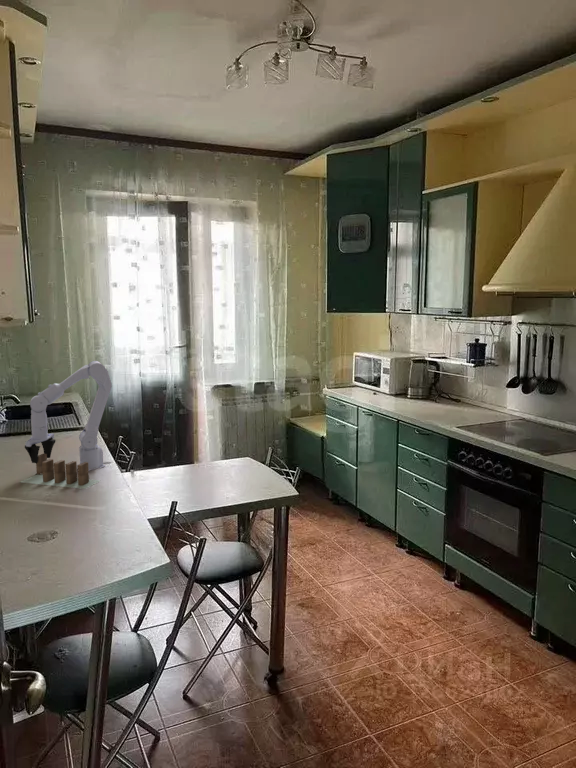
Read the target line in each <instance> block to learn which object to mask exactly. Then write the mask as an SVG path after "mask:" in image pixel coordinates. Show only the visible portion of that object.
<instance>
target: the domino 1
mask: <svg viewBox="0 0 576 768" xmlns="http://www.w3.org/2000/svg"><path fill="white" fill-rule="evenodd" d="M46 460H48V458H47V454H44V453H42V454H38V463H35V466H36V467H35V470H36V475H43V470H42V462H44V461H46Z"/></svg>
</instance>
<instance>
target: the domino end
mask: <svg viewBox="0 0 576 768" xmlns="http://www.w3.org/2000/svg"><path fill="white" fill-rule="evenodd" d="M89 471H90V470H89V469H88V462H83V463H81V464H80V463H79V464H77V478H78V485H81V486H82V485H84V484H86V483H88V482H89V479H90V475H89V474H90V473H89Z"/></svg>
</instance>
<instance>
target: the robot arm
mask: <svg viewBox="0 0 576 768" xmlns="http://www.w3.org/2000/svg"><path fill="white" fill-rule="evenodd" d="M90 377H91V378H93V379H94V380H95V383H97V386H98V387H97V390H96V393H95V396H94V400H93V404H92V405H91V410H90V413H89V415H88V418H87V422H86V424H85V426H84V428H83V430H82V431H81V432H80V434H79V436H78V439H79V441H80V445H79V447H78V451H79V453H78V455H79V464H81V463H83V462H88V469H89V471H92V470H97V469H98V468H100V469H102V468H104V467H106V464H104V451H103V449H102V447H101V446H100V445H98V434H99V427H100V424H101V421H102V418H103V416H104V412H105V409H106V407H107V406H106V405H107V402H108V399H109V395H110V392H111V389H112V387H113V385H112V384H113V383H112V382H111V381H112V380H111V378H110V375H109V371H108V369H107V368H106V366H105V365H104V364H102V363H101V362H100V361H98V360H93V361H90V362H89V363H88V364H84V365H83V366H82V367H80V368H79V369H77V370H76V371H74V372H73V373H72V374H70V375H69V376H68V377H66V379H64V380H62V381H61V382H60V383H56V382H54V383H53V384H51V383H50V384H48V385H47V386H48V387H47V388H45V389H44V390H42V391H39V392H38V393H37V395H35V396H33V397H32V398H31V399H30V402H29V405H30V406H29V407H30V409H31V410H30V414H31V415H30V421H31V423H30V424H31V425H30V426H31V436H30V437H29V439H28V440H26V441H24V442H25V445H24V449H25V451H27V454H28V455H29V458H30V460H31V463H32V464H36V463H38V455H39V451H40V449H41V446H42V449H43V450H42V451H43V454H47V459H51V455H52V451H53V447H54V446H55V443H56V439H55V433H48V415H47V412H46V411H47V407H48V405H51V404H53V403H54V402H56V401H57V400H58V399H60V398H61V397H62V396H64V394H65V390H67V389H69V388H70V387H72V386H73V385H75V384H76V383H78V382H79V381H81V380H84V379H85V380H88V379H90ZM40 443H41V446H40V445H37V444H40Z"/></svg>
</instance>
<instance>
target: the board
mask: <svg viewBox="0 0 576 768" xmlns="http://www.w3.org/2000/svg"><path fill="white" fill-rule="evenodd" d="M99 482H101V480H99V479H90V478H89V482H88V483H86V484H84V485H82V486H81V485H78V477H77V481H76V482H74V483H72V484H66V480H64V481H62V482H60V483H55V478H54V479H53V480H50V481H48V482H43V474H35V475H33V476H31V477H28V478H26V479H24V480H21V481H20V483H24V484H32V485H43V486H50V487H51V486H52V487H63V488H72V489H84V490H86V489H88V488H89V487H92V486H93V485H95V484H97V483H99Z"/></svg>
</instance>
